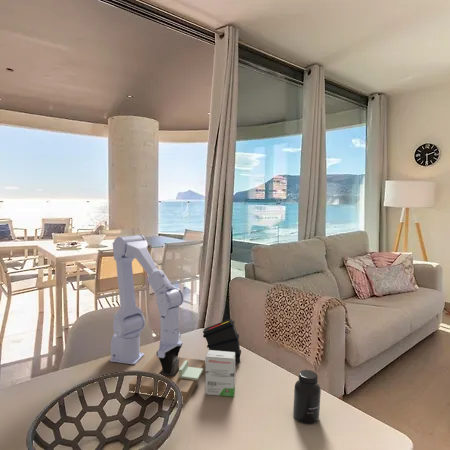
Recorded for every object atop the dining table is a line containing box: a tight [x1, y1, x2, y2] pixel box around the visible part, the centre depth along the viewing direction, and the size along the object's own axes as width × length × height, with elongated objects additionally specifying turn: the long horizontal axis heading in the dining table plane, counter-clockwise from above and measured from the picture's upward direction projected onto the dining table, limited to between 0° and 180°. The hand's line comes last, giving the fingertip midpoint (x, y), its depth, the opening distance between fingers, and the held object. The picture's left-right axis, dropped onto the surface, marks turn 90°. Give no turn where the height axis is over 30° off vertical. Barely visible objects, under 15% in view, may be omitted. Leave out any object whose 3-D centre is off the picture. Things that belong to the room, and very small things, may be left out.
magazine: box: [202, 318, 242, 364], centre depth 123 cm, size 4×13×15 cm, turn 81°
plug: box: [162, 356, 179, 377], centre depth 110 cm, size 4×4×7 cm
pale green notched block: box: [179, 360, 203, 380], centre depth 108 cm, size 6×6×3 cm
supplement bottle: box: [292, 369, 322, 425], centre depth 93 cm, size 7×7×12 cm
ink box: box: [205, 349, 236, 398], centre depth 104 cm, size 9×5×12 cm, turn 82°
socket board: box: [128, 353, 206, 403], centre depth 110 cm, size 18×19×3 cm
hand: (169, 369), depth 110 cm, fingers closed on plug, 4 cm apart
